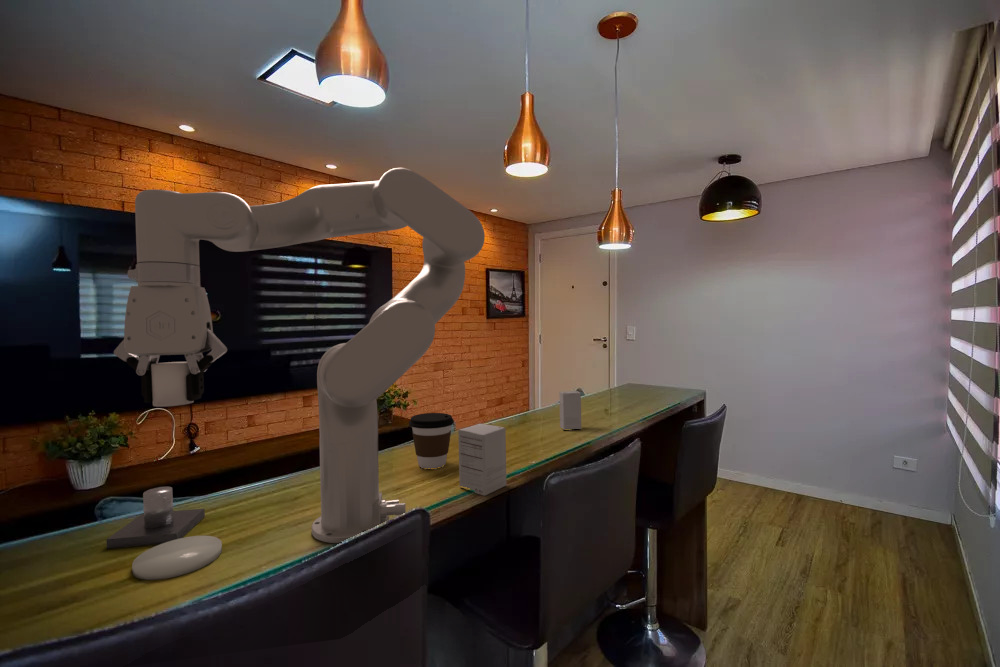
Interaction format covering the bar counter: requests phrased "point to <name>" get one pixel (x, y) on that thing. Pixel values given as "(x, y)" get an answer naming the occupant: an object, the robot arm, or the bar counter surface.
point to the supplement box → (482, 458)
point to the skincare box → (570, 410)
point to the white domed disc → (176, 557)
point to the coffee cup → (431, 438)
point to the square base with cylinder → (156, 522)
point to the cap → (169, 384)
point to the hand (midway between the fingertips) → (173, 399)
